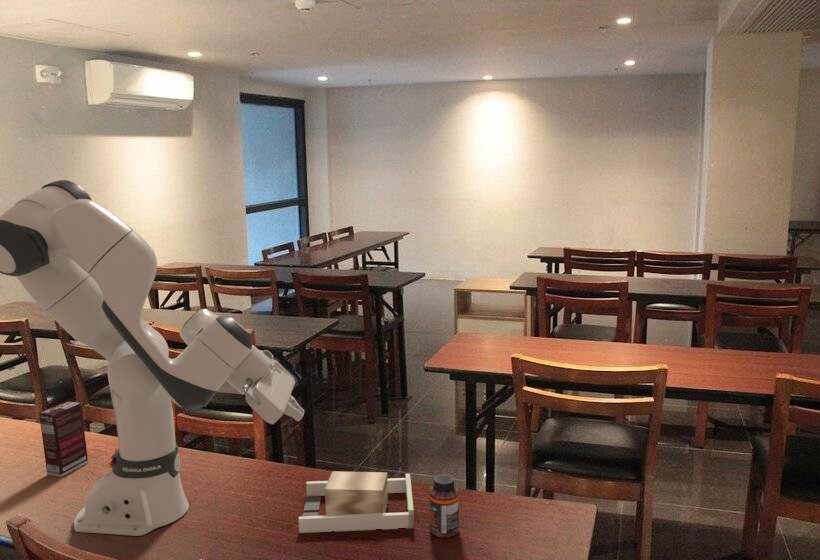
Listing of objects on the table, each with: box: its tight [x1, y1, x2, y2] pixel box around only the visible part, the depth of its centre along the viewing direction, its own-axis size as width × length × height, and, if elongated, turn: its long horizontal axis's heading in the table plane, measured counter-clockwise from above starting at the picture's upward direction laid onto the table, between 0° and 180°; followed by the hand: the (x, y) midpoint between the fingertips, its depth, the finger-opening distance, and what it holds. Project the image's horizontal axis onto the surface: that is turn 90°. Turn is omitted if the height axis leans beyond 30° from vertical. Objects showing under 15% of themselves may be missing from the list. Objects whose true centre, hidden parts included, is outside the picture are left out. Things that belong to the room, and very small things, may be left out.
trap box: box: [298, 473, 415, 534], centre depth 146 cm, size 23×16×4 cm
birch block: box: [324, 470, 389, 515], centre depth 145 cm, size 12×8×7 cm, turn 85°
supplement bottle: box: [428, 473, 460, 539], centre depth 136 cm, size 6×6×11 cm
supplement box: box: [38, 400, 89, 478], centre depth 167 cm, size 9×5×16 cm, turn 159°
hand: (301, 416), depth 142 cm, fingers closed
